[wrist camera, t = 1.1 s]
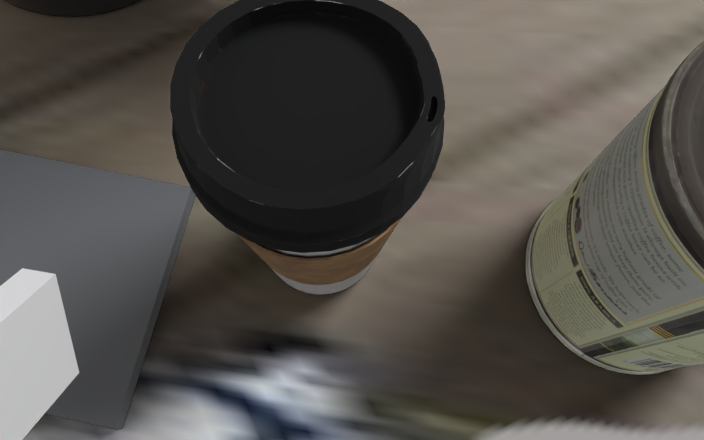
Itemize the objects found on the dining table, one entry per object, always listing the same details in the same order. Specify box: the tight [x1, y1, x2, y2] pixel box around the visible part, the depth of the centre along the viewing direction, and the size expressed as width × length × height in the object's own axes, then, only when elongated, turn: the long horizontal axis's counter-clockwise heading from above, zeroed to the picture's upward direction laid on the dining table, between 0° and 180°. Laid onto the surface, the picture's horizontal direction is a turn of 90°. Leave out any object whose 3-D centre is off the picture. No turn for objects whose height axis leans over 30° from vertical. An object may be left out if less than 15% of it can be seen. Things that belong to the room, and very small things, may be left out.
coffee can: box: [526, 41, 704, 375], centre depth 24 cm, size 10×10×14 cm
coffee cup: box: [170, 0, 445, 295], centre depth 23 cm, size 8×8×15 cm
